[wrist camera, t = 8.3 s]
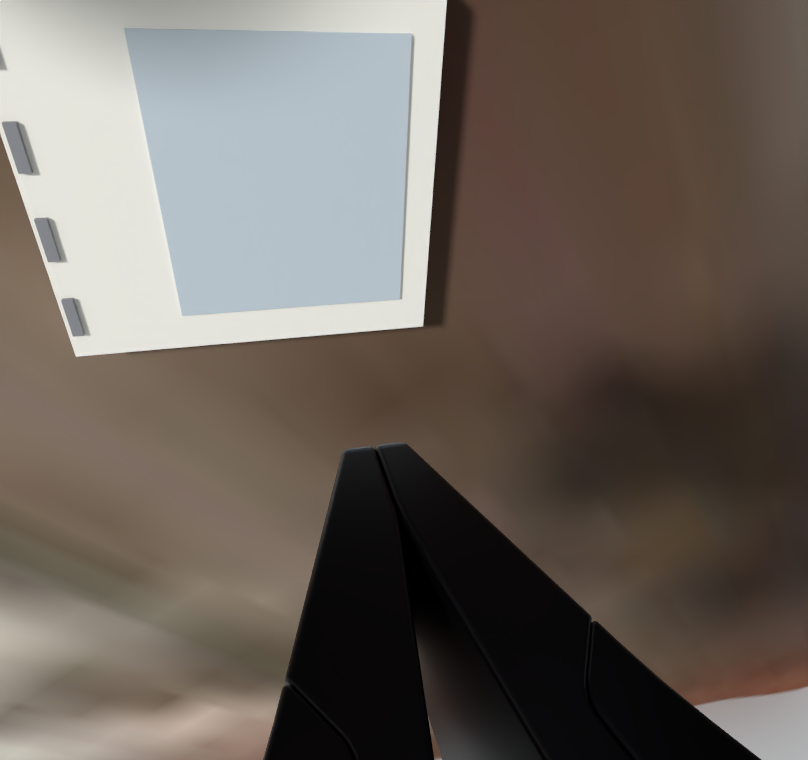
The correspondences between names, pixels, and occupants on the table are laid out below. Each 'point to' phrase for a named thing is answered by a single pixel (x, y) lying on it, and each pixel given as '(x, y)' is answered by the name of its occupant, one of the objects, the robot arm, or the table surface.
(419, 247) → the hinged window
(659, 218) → the table surface
